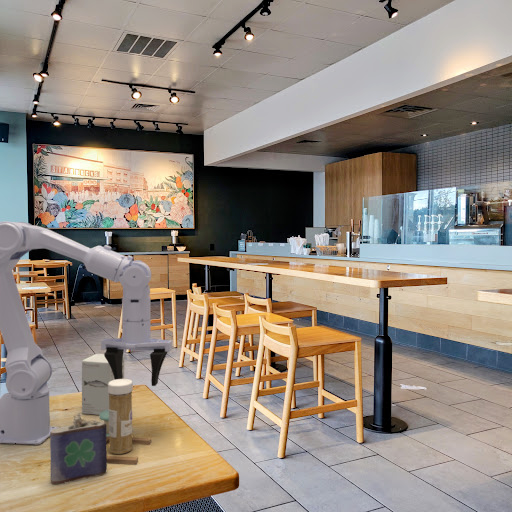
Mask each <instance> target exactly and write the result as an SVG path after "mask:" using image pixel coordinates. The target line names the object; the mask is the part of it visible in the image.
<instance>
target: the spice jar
mask: <svg viewBox="0 0 512 512" xmlns="http://www.w3.org/2000/svg"><path fill="white" fill-rule="evenodd" d="M133 390H134V389H133V380H131V379H129V378H124V379H116V380H112V381H110V382H109V383H108V393H109V435H110V443H109V447H108V452H110V453H111V454H115V455H122V454H124V455H125V454H126V453H129V452H131V451H132V450H133V448H134V446H133V445H134V444H132V437H133V406H132V405H133V403H132V402H133V401H132V399H133V396H132V394H133Z"/></svg>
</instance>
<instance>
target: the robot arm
mask: <svg viewBox="0 0 512 512" xmlns="http://www.w3.org/2000/svg"><path fill="white" fill-rule="evenodd" d="M38 249H40V250H41V249H46V250H49V251H50V252H51V251H52V252H55V253H56V254H59V255H62V256H64V257H68V258H71V259H73V260H76V261H79V262H82V263H83V264H84V266H85V269H86V270H87V272H90V273H92V274H94V275H97V276H98V277H100V278H104V279H107V280H109V281H111V282H114V283H120V286H122V298H121V302H122V303H121V309H122V311H121V314H122V315H121V316H122V317H121V319H122V322H121V323H122V326H121V327H122V328H121V329H122V331H121V332H122V337H118V338H116V337H115V338H103V339H101V340H100V350H101V351H102V350H106V351H105V352H104V353H103V354H104V356H105V358H106V360H107V361H108V363H109V365H110V367H111V369H112V372H113V375H114V379H115V380H116V379H122V378H123V375H122V360H123V356H124V352H125V351H124V350H130V351H131V350H132V351H134V350H137V351H141V350H142V351H152V352H150V354H149V358H150V364H151V366H150V367H151V380H150V383H151V387H156V386H157V385H158V384H159V383H158V382H159V377H160V373H161V369H162V365H163V364H164V361H165V359H166V356H167V355H168V352H171V351H172V350H173V340H171V339H158V338H151V333H152V332H151V328H152V327H151V321H152V320H151V315H152V314H151V310H152V309H151V296H150V293H151V289H150V285H149V283H150V281H151V280H152V270H151V268H150V266H149V265H148V264H147V263H145V262H144V261H143V260H139V259H137V260H133V259H134V256H131V255H127V256H125V255H123V254H121V253H118V252H117V251H114V250H112V247H111V246H110V245H107V244H105V245H103V246H102V245H97V246H94V247H91V248H90V247H88V246H86V245H83V244H81V243H79V242H77V241H75V240H72V239H70V238H68V237H66V236H65V235H64V236H63V235H62V234H59V233H57V232H55V231H53V230H51V229H48V228H45V227H42V226H39V225H35V224H34V225H32V224H31V223H29V222H25V221H18V222H16V221H15V222H13V221H8V220H7V221H0V334H1V337H2V340H3V343H4V346H5V349H6V353H7V355H6V359H5V364H4V367H5V370H6V377H5V378H6V379H5V387H6V391H7V392H5V393H4V394H3V395H1V396H0V444H15V443H16V445H18V444H19V445H22V444H23V445H41V444H42V443H43V442H45V441H47V439H48V438H49V437H50V432H51V431H52V430H53V429H56V428H59V426H51V424H50V420H51V419H50V417H51V415H50V412H51V411H50V387H49V386H48V381H49V380H50V379H51V378H52V375H53V366H52V364H51V362H50V361H49V360H48V358H46V357H45V354H43V349H42V348H41V347H40V346H38V344H37V343H36V341H35V340H34V336H33V333H32V329H31V326H30V323H29V321H28V317H27V314H26V311H25V307H24V305H23V301H22V298H21V295H20V292H19V289H18V286H17V283H16V279H15V276H14V274H13V270H14V268H15V267H16V265H17V264H19V263H18V262H19V261H20V260H21V258H22V257H23V256H25V255H26V254H28V253H29V252H30V251H32V250H38Z"/></svg>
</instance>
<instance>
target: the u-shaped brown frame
mask: <svg viewBox="0 0 512 512" xmlns="http://www.w3.org/2000/svg"><path fill="white" fill-rule="evenodd" d="M106 442H107V444H106V446H108V444H110V436H106ZM151 443H152V437H133V436H132V445H151ZM138 462H139V457H138V456H123V455H122V456H121V455H120V456H119V455H107V464H114V465H115V464H118V465H120V464H121V465H137V463H138Z"/></svg>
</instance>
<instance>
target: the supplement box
mask: <svg viewBox="0 0 512 512" xmlns="http://www.w3.org/2000/svg"><path fill="white" fill-rule="evenodd" d="M122 375H123V378H122V379H125V355H123V360H122ZM112 380H115V379H114V375H113V372H112V369H111V367H110V365H109V363H108V361H107V360H106V358H105V356H104V353H95V354H92V355H91V356H89V357H87V358H84V359H83V360H82V361H81V415H85V414H86V415H87V414H88V415H97V416H99V414H100V413H101V412H103V411H106V410H109V393H108V383H109V382H110V381H112Z"/></svg>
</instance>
